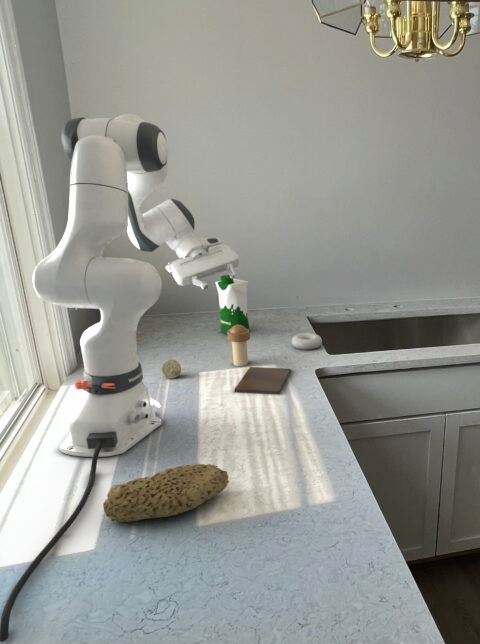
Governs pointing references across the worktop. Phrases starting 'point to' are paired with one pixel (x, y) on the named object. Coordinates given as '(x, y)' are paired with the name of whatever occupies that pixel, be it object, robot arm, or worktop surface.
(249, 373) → the board
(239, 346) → the mushroom
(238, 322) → the milk carton
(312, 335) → the donut
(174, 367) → the olive green ball
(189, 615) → the worktop surface
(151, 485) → the sponge
